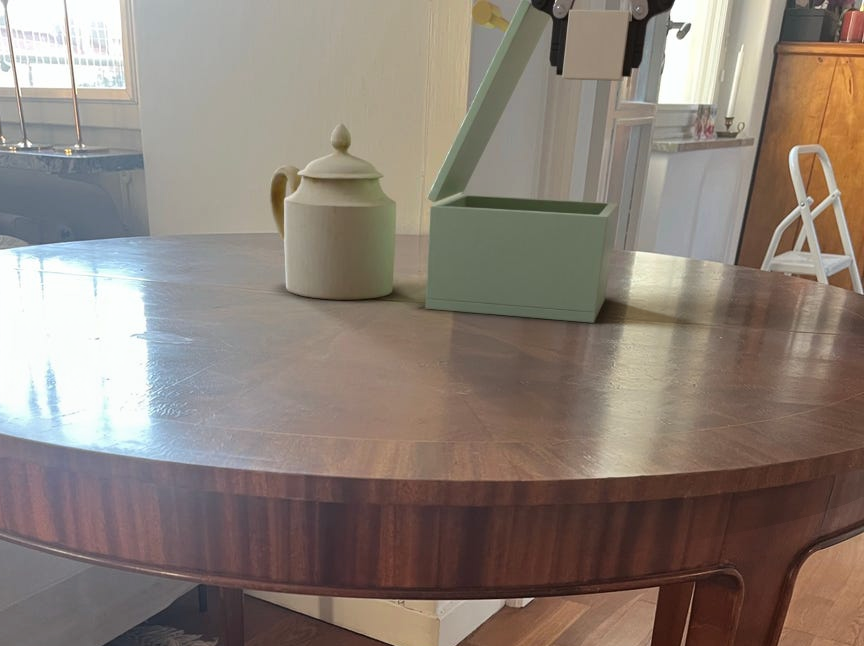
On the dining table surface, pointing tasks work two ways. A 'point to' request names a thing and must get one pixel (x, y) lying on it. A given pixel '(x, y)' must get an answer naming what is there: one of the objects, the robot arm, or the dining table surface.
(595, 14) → the block
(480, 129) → the chest lid
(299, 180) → the sugar bowl
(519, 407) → the dining table surface
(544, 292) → the chest
